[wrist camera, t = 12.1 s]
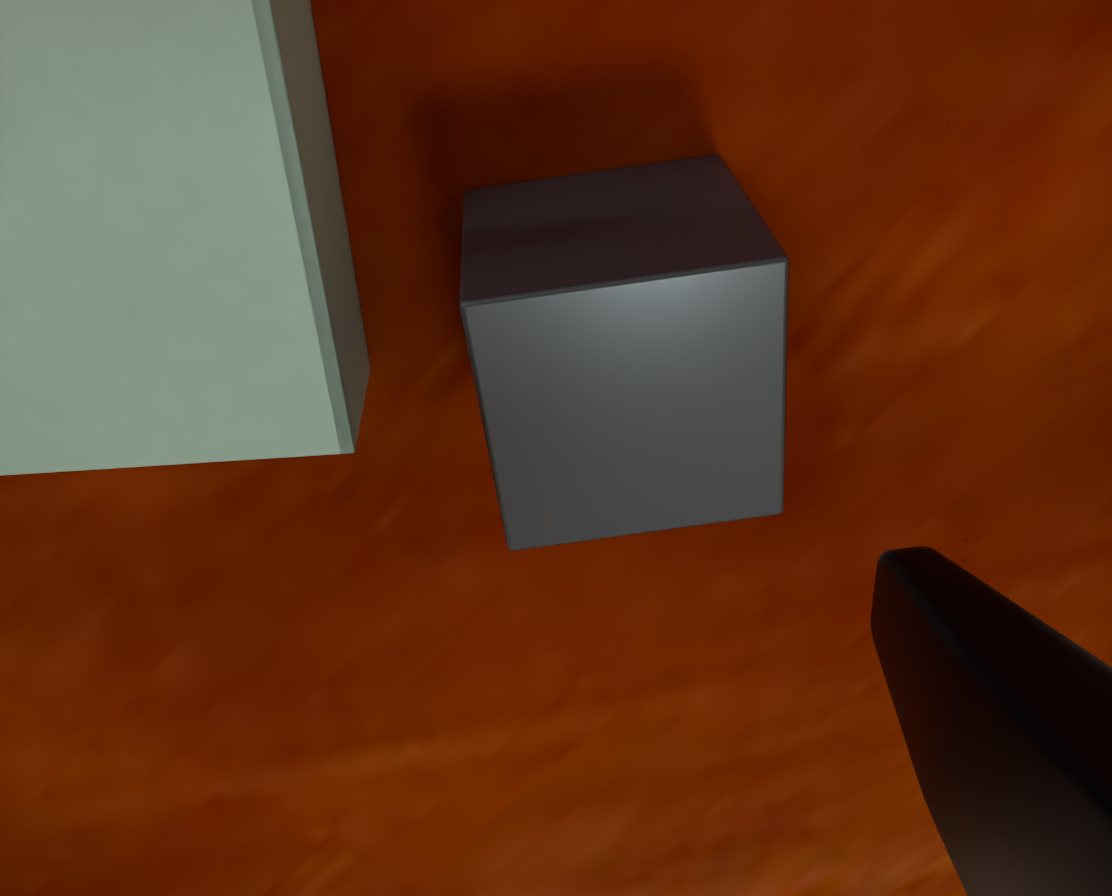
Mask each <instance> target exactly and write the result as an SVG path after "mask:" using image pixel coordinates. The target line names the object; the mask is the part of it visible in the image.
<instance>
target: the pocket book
mask: <svg viewBox="0 0 1112 896" xmlns="http://www.w3.org/2000/svg"><path fill="white" fill-rule="evenodd" d="M369 374H370V361H369V355H368V349H367V343H366V337H365V331H364V325H363V319H362V313H361V307H360V301H359V295H358V288H357V282H356V276H355V270H354V264H353V258H352V252H351V246H350V240H349V234H348V228H347V222H346V216H345V209H344V203H343V197H342V191H341V185H340V179H339V173H338V167H337V161H336V155H335V149H334V143H333V136H332V130H331V124H330V118H329V112H328V106H327V100H326V94H325V88H324V82H323V76H322V70H321V63H320V57H319V51H318V45H317V39H316V33H315V27H314V21H313V15H312V9H311V3H310V0H0V476H3V475H18V474H34V473H50V472H65V471H81V470H97V469H112V468H128V467H144V466H159V465H175V464H191V463H207V462H222V461H238V460H254V459H269V458H285V457H301V456H316V455H332V454H348V453H354V452H355V448H356V443H357V437H358V432H359V427H360V421H361V416H362V411H363V405H364V400H365V395H366V390H367V384H368V379H369Z"/></svg>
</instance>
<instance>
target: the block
mask: <svg viewBox="0 0 1112 896" xmlns="http://www.w3.org/2000/svg"><path fill="white" fill-rule="evenodd" d="M788 286H789V258H788V256H787V255H786V253H785V252H784V250H783V249H782V247H781V246H780V244H779V243H778V241H777V240H776V238H775V237H774V235H773V234H772V232H771V231H770V229H769V228H768V226H767V225H766V223H765V222H764V220H763V219H762V217H761V216H760V214H759V213H758V211H757V210H756V208H755V207H754V205H753V204H752V202H751V201H750V200H749V198H748V197H747V195H746V194H745V192H744V191H743V189H742V188H741V186H740V185H739V183H738V182H737V180H736V179H735V177H734V176H733V174H732V173H731V171H730V170H729V168H728V167H727V165H726V164H725V162H724V161H723V159H722V158H721V156H720V155H717V154H715V155H708V156H701V157H694V158H687V159H680V160H673V161H666V162H659V163H652V164H645V165H638V166H631V167H624V168H617V169H610V170H603V171H596V172H589V173H582V174H575V175H568V176H561V177H554V178H547V179H540V180H532V181H525V182H518V183H511V184H504V185H497V186H490V187H483V188H476V189H469V190H466V191H465V192H464V195H463V222H462V250H461V277H460V304H459V307H460V312H461V317H462V322H463V327H464V332H465V337H466V342H467V347H468V352H469V357H470V362H471V367H472V372H473V377H474V382H475V387H476V392H477V397H478V402H479V407H480V412H481V417H482V422H483V427H484V432H485V437H486V442H487V447H488V452H489V457H490V462H491V467H492V472H493V477H494V482H495V487H496V492H497V497H498V502H499V507H500V512H501V517H502V522H503V527H504V532H505V538H506V543H507V547H508V548H509V550H511V551H515V550H523V549H530V548H537V547H545V546H552V545H559V544H566V543H574V542H581V541H588V540H596V539H603V538H610V537H617V536H625V535H632V534H639V533H646V532H654V531H661V530H668V529H676V528H683V527H690V526H697V525H705V524H712V523H719V522H727V521H734V520H741V519H748V518H756V517H763V516H770V515H778V514H781V513H782V512H783V507H784V463H785V419H786V375H787V331H788Z"/></svg>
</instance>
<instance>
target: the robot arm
mask: <svg viewBox="0 0 1112 896" xmlns="http://www.w3.org/2000/svg"><path fill="white" fill-rule="evenodd" d="M871 629H872V636H873V640H874V644H875V647H876V651H877V654H878V657H879V660H880V663H881V666H882V669H883V672H884V676H885V679H886V682H887V685H888V688H889V691H890V694H891V697H892V700H893V704H894V707H895V710H896V713H897V716H898V719H899V722H900V725H901V729H902V732H903V735H904V738H905V741H906V744H907V747H908V750H909V753H910V757H911V760H912V763H913V766H914V769H915V772H916V775H917V778H918V781H919V784H920V787H921V790H922V793H923V796H924V798H925V801H926V803H927V806H928V808H929V810H930V813H931V815H932V818H933V820H934V822H935V825H936V827H937V829H938V832H939V834H940V836H941V838H942V840H943V843H944V845H945V847H946V849H947V852H948V854H949V856H950V858H951V860H952V863H953V865H954V867H955V869H956V872H957V874H958V876H959V878H960V880H961V883H962V885H963V887H964V889H965V891H966V894H967V896H1112V667H1110V666H1109V665H1107V664H1106V663H1104V662H1103V661H1101V660H1100V659H1098V658H1097V657H1095V656H1094V655H1092V654H1091V653H1089V652H1088V651H1086V650H1085V649H1083V648H1082V647H1080V646H1079V645H1077V644H1076V643H1074V642H1073V641H1071V640H1070V639H1068V638H1067V637H1065V636H1064V635H1062V634H1061V633H1059V632H1058V631H1056V630H1055V629H1053V628H1052V627H1050V626H1049V625H1047V624H1046V623H1044V622H1043V621H1041V620H1040V619H1038V618H1037V617H1035V616H1034V615H1032V614H1031V613H1029V612H1028V611H1026V610H1025V609H1023V608H1022V607H1020V606H1019V605H1017V604H1015V603H1014V602H1012V601H1011V600H1009V599H1008V598H1006V597H1005V596H1003V595H1002V594H1000V593H999V592H997V591H996V590H994V589H993V588H991V587H990V586H988V585H987V584H985V583H984V582H982V581H981V580H979V579H978V578H976V577H975V576H973V575H972V574H970V573H969V572H967V571H966V570H964V569H963V568H961V567H960V566H958V565H957V564H955V563H954V562H952V561H951V560H949V559H948V558H946V557H945V556H943V555H942V554H940V553H939V552H937V551H936V550H934V549H932V548H929V547H925V546H919V547H911V548H903V549H895V550H888V551H886V552H884V553H883V554H881V556H880V558H879V560H878V564H877V570H876V578H875V587H874V595H873V603H872V611H871Z"/></svg>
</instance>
